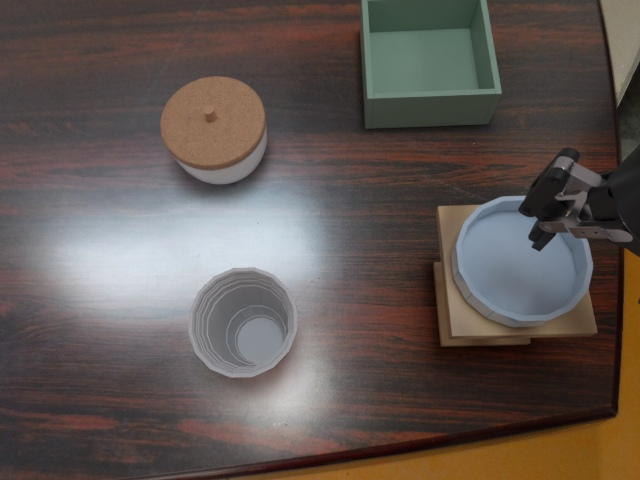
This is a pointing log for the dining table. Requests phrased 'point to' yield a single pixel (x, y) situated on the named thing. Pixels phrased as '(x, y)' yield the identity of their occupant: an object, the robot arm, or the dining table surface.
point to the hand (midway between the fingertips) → (591, 266)
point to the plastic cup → (242, 322)
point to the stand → (468, 323)
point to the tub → (427, 63)
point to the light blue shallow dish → (518, 267)
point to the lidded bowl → (215, 129)
